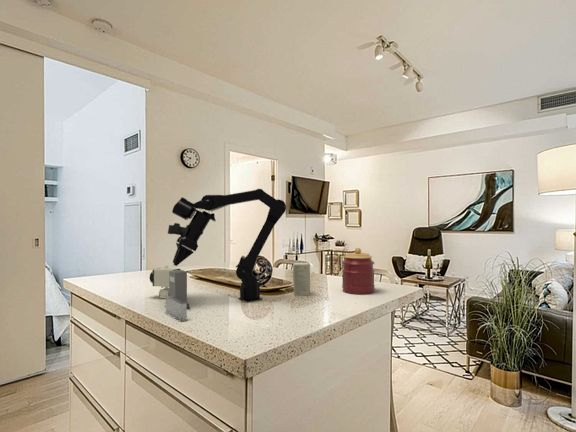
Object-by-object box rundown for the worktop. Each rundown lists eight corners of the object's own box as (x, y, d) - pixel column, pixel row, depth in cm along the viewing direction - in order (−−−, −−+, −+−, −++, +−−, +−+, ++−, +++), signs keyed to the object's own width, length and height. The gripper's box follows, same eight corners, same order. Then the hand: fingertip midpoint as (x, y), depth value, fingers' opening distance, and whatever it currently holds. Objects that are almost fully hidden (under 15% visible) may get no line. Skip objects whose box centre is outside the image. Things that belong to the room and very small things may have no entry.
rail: (174, 310, 107) (174, 295, 107) (190, 319, 97) (190, 302, 97) (165, 312, 105) (165, 296, 105) (181, 321, 95) (181, 304, 95)
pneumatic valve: (177, 299, 122) (177, 267, 122) (149, 298, 124) (149, 266, 124) (185, 296, 127) (184, 265, 128) (157, 295, 130) (157, 264, 130)
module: (180, 304, 116) (180, 269, 116) (187, 307, 111) (186, 271, 112) (169, 306, 113) (169, 271, 113) (175, 309, 109) (175, 272, 109)
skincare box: (310, 293, 131) (310, 262, 131) (309, 295, 127) (308, 264, 127) (294, 292, 132) (294, 262, 132) (292, 295, 128) (292, 263, 128)
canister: (341, 294, 129) (340, 249, 130) (343, 287, 142) (342, 246, 142) (375, 295, 127) (374, 249, 127) (374, 288, 139) (373, 246, 140)
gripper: (175, 216, 127) (153, 251, 124) (178, 213, 110) (152, 255, 106) (201, 230, 130) (180, 265, 127) (208, 230, 113) (183, 271, 109)
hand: (174, 264), depth 117 cm, fingers open, 9 cm apart
